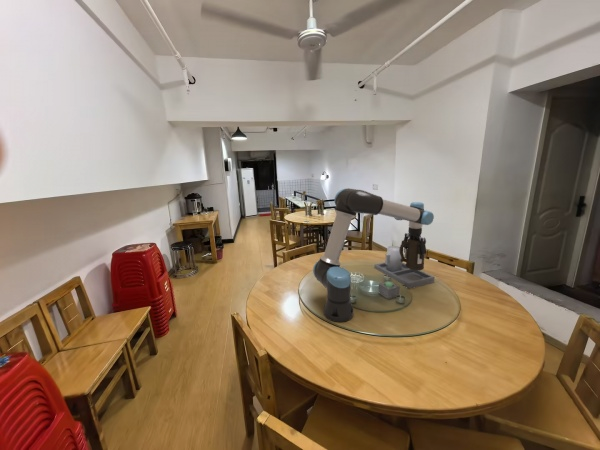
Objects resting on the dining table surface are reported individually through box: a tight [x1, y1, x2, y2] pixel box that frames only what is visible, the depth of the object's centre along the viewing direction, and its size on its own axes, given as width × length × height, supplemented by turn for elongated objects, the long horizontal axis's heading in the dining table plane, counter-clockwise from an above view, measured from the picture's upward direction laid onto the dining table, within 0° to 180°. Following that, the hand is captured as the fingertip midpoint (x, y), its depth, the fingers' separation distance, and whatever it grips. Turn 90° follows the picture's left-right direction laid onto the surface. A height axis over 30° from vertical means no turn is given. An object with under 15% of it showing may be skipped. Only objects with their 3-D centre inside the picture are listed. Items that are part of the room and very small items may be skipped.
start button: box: [385, 281, 394, 288], centre depth 136 cm, size 4×4×6 cm
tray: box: [373, 262, 436, 290], centre depth 160 cm, size 32×21×4 cm, turn 21°
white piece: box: [384, 245, 402, 272], centre depth 165 cm, size 10×13×16 cm
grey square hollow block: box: [377, 280, 400, 300], centre depth 136 cm, size 8×8×6 cm
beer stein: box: [399, 238, 427, 271], centre depth 150 cm, size 15×11×20 cm
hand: (412, 260), depth 150 cm, fingers closed on beer stein, 10 cm apart
